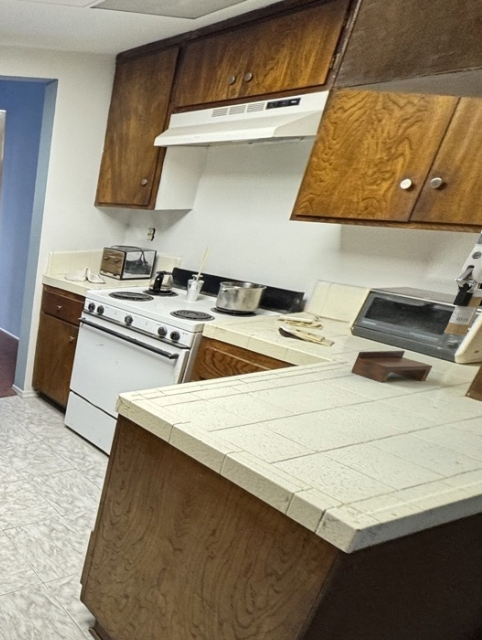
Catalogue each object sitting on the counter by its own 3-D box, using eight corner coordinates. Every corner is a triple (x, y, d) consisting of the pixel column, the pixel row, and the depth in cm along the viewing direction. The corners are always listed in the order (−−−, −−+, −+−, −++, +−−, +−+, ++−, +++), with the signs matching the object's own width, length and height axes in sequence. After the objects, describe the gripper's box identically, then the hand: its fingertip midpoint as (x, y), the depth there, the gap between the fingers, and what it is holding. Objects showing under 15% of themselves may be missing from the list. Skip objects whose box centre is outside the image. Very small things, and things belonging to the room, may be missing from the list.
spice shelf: (425, 380, 144) (435, 359, 141) (380, 382, 142) (390, 360, 139) (393, 371, 152) (402, 350, 150) (350, 372, 150) (359, 351, 147)
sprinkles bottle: (468, 334, 140) (489, 289, 135) (462, 336, 138) (483, 290, 133) (446, 331, 144) (466, 287, 139) (440, 332, 142) (460, 288, 137)
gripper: (489, 242, 127) (459, 308, 134) (540, 242, 129) (508, 307, 136) (455, 240, 134) (428, 303, 140) (504, 240, 136) (475, 302, 143)
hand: (467, 304), depth 138 cm, fingers closed on sprinkles bottle, 4 cm apart
